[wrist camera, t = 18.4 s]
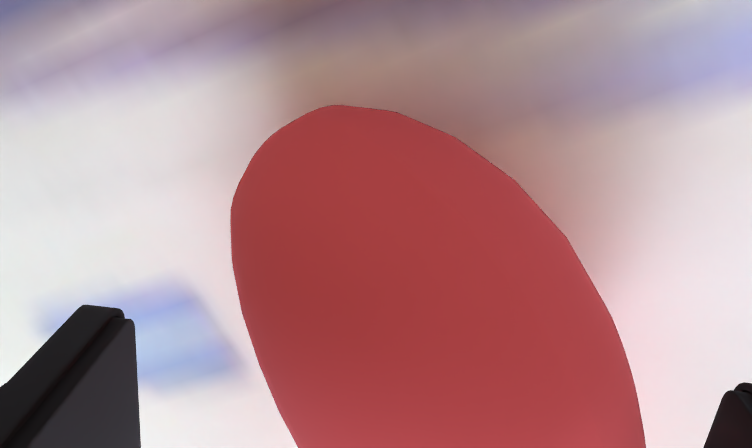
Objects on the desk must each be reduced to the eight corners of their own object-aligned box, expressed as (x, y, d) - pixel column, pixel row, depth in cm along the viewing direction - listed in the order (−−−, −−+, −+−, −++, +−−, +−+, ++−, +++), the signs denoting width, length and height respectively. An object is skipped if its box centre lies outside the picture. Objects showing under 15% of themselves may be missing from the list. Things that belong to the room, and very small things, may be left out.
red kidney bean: (627, 87, 12) (529, 14, 6) (692, 587, 12) (654, 965, 6) (373, 138, 14) (141, 119, 9) (429, 548, 14) (235, 791, 9)
